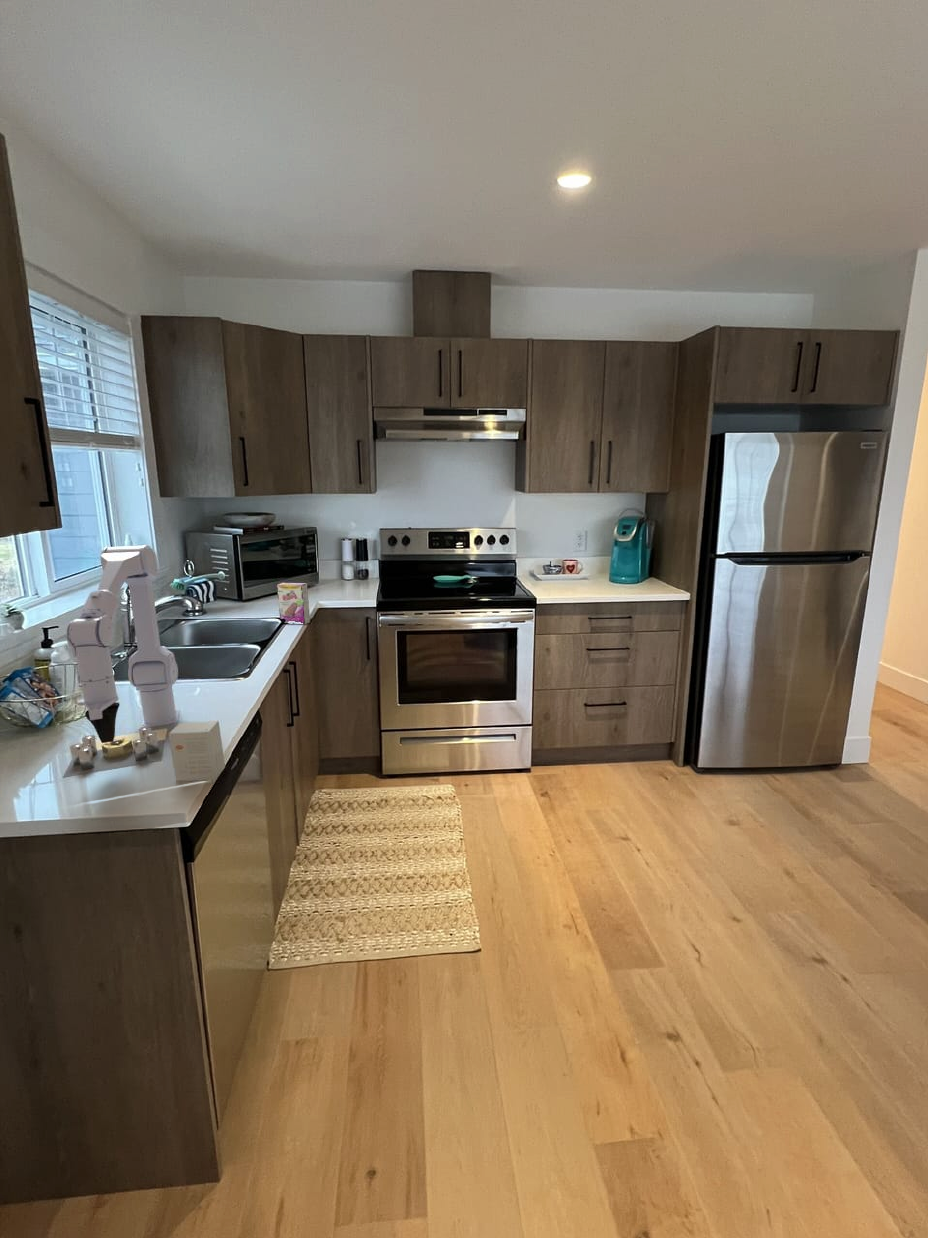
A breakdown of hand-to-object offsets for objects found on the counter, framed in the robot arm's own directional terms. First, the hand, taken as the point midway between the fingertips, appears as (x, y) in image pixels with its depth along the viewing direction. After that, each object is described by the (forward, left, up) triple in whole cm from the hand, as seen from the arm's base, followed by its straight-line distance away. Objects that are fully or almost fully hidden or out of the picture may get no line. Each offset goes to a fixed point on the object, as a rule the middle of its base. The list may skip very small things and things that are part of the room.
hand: (108, 741), depth 128 cm
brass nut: (-8, 0, -6) cm, 10 cm away
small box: (+10, +17, -7) cm, 21 cm away
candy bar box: (-120, +50, -7) cm, 130 cm away
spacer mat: (-10, 0, -7) cm, 12 cm away
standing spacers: (-7, 0, -6) cm, 9 cm away
